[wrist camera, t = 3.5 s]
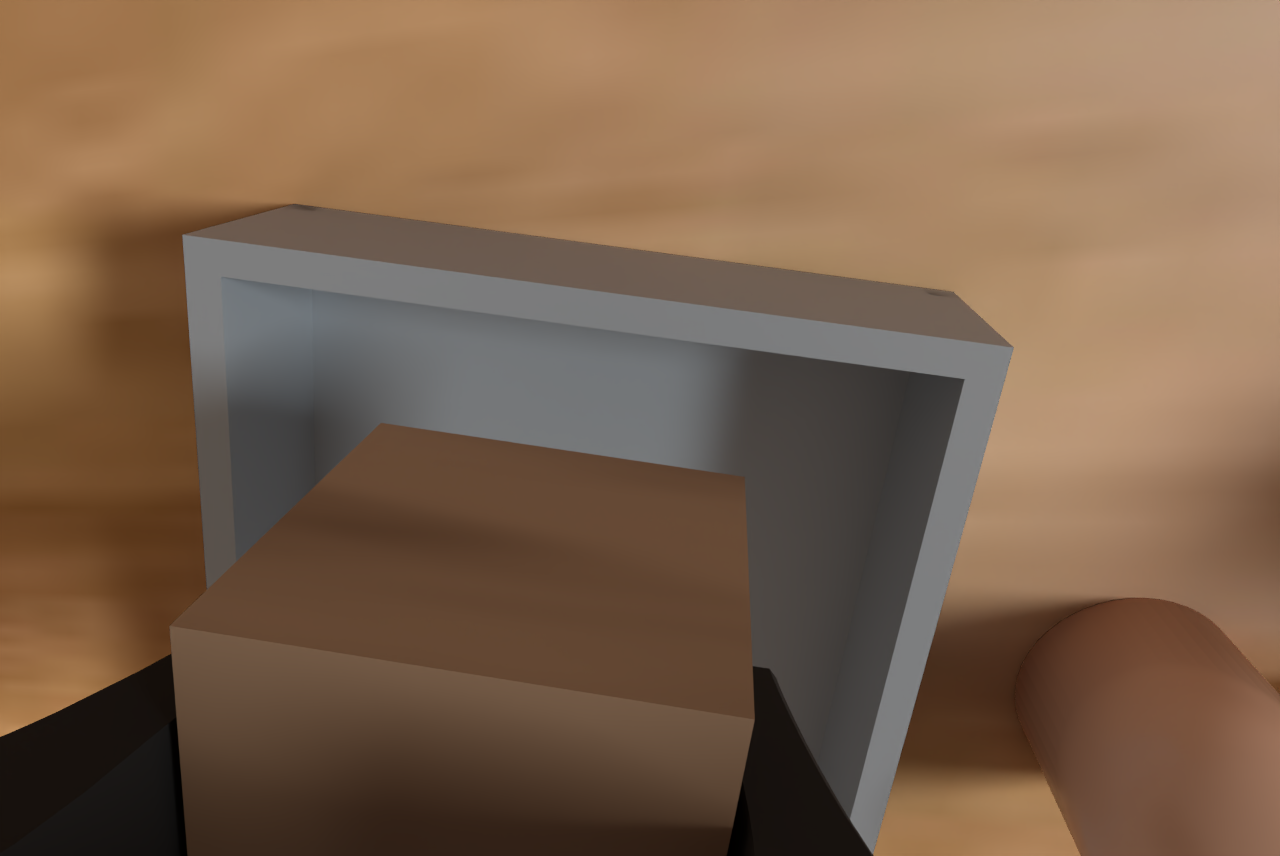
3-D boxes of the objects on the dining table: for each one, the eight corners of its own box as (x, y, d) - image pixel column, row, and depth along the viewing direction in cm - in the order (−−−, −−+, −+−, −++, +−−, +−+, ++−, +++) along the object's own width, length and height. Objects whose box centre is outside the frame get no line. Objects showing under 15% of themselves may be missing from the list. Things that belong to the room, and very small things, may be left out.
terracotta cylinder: (1196, 789, 21) (1405, 1102, 15) (990, 757, 21) (1106, 1052, 15) (1272, 615, 19) (1547, 884, 13) (1047, 583, 20) (1206, 830, 13)
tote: (802, 901, 23) (816, 1056, 20) (309, 820, 24) (231, 955, 20) (953, 291, 18) (1013, 347, 14) (294, 203, 18) (182, 234, 14)
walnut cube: (691, 770, 14) (674, 1115, 9) (375, 719, 14) (202, 1030, 9) (744, 476, 12) (754, 719, 7) (381, 422, 12) (168, 624, 8)
